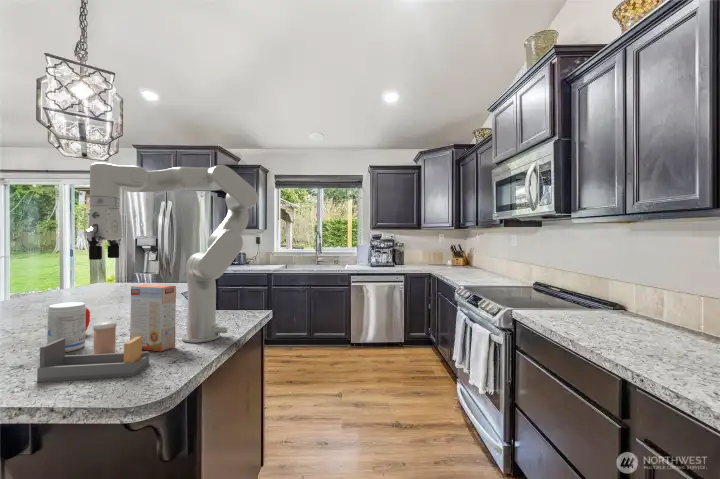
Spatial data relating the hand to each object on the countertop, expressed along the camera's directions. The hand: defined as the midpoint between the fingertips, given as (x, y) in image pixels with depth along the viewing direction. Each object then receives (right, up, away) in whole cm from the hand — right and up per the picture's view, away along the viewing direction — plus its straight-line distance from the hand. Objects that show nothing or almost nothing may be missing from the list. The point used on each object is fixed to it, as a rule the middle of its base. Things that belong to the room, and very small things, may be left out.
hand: (104, 258), depth 106 cm
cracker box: (+10, -31, +8) cm, 33 cm away
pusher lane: (+8, -30, -13) cm, 34 cm away
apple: (-27, -30, +22) cm, 46 cm away
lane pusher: (+17, -29, -12) cm, 35 cm away
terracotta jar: (0, -30, -1) cm, 30 cm away
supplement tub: (-17, -30, +6) cm, 35 cm away
